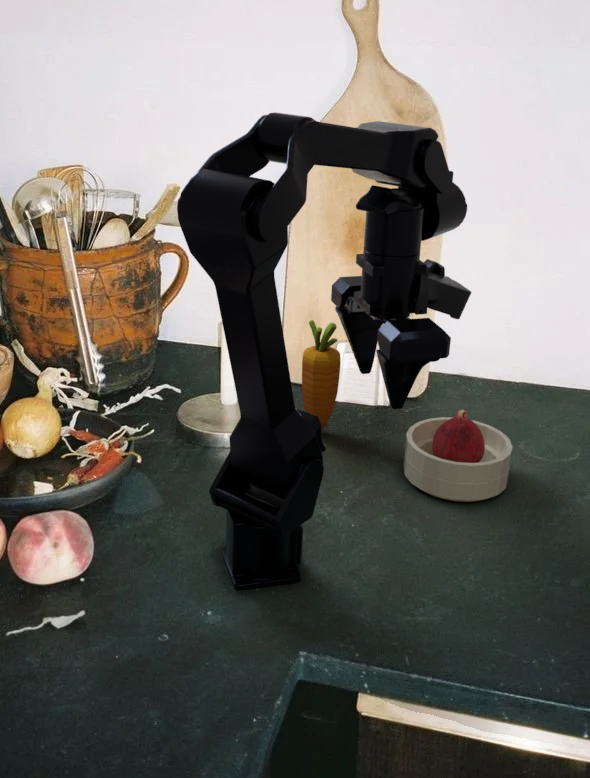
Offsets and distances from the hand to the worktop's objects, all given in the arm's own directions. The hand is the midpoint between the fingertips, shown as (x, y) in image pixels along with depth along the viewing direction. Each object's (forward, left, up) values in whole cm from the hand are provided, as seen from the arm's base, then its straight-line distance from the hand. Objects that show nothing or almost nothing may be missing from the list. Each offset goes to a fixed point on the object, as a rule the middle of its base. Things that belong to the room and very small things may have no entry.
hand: (380, 390), depth 100 cm
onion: (+10, 0, -12) cm, 15 cm away
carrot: (-2, +14, -12) cm, 19 cm away
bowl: (+10, 0, -12) cm, 16 cm away
